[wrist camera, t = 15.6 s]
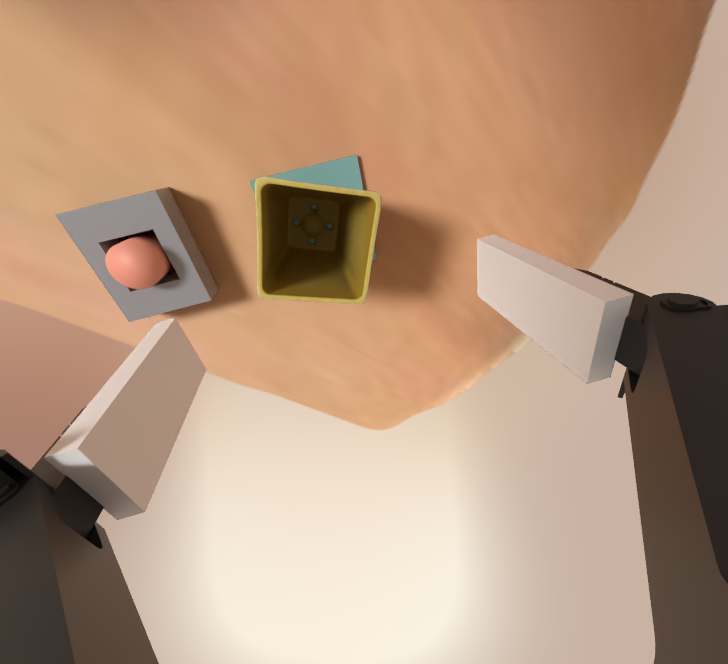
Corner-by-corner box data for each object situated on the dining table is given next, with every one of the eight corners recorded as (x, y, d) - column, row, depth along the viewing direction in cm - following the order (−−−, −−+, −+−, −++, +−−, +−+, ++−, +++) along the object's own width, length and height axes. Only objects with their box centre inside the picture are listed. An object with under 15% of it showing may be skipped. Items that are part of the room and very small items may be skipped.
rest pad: (250, 180, 28) (249, 180, 28) (356, 155, 29) (356, 155, 29) (286, 281, 34) (286, 282, 33) (375, 257, 34) (376, 259, 34)
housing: (78, 209, 27) (55, 214, 25) (168, 187, 28) (155, 190, 25) (142, 308, 32) (129, 321, 30) (218, 289, 33) (211, 300, 30)
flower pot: (351, 271, 34) (366, 306, 26) (268, 265, 32) (257, 299, 24) (362, 183, 30) (383, 192, 22) (267, 169, 28) (254, 174, 20)
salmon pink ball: (119, 238, 29) (94, 249, 25) (162, 227, 29) (143, 237, 25) (143, 278, 31) (123, 294, 27) (184, 268, 31) (169, 282, 27)
